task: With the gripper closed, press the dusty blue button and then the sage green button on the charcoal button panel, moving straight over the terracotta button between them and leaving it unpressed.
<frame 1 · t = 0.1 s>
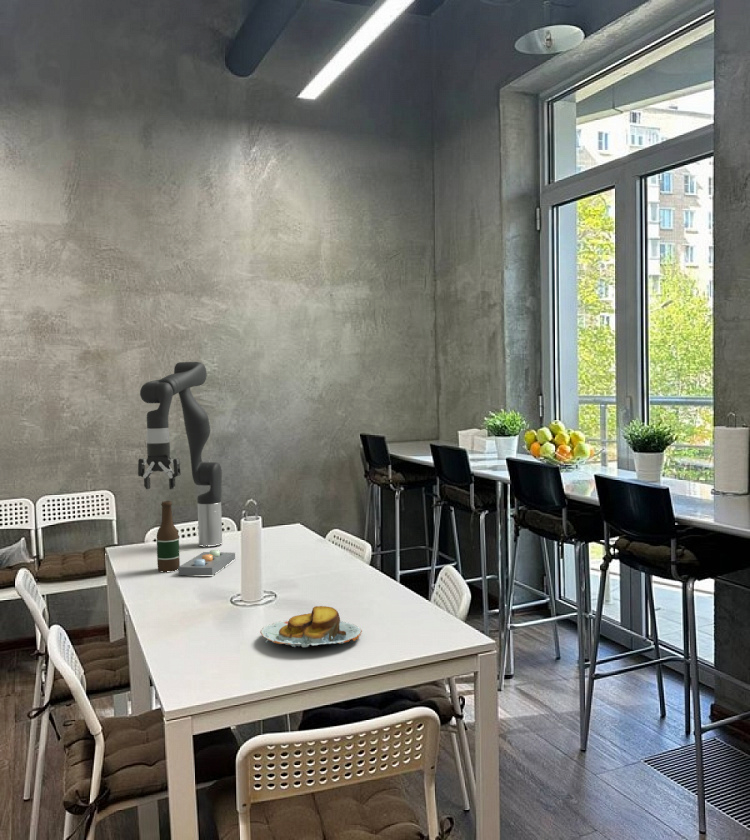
hand: (159, 489, 260), 29 cm above the table, tool pointing down, fingers open, 8 cm apart
sage button: (214, 555, 275), point 3 cm above the table, slide at 0.0 cm
blue button: (199, 564, 262), point 3 cm above the table, slide at 0.0 cm
food on plate: (311, 640, 194), on the table
button panel: (207, 568, 269), on the table
beer bottle: (168, 570, 267), on the table
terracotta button: (207, 559, 269), point 3 cm above the table, slide at 0.0 cm
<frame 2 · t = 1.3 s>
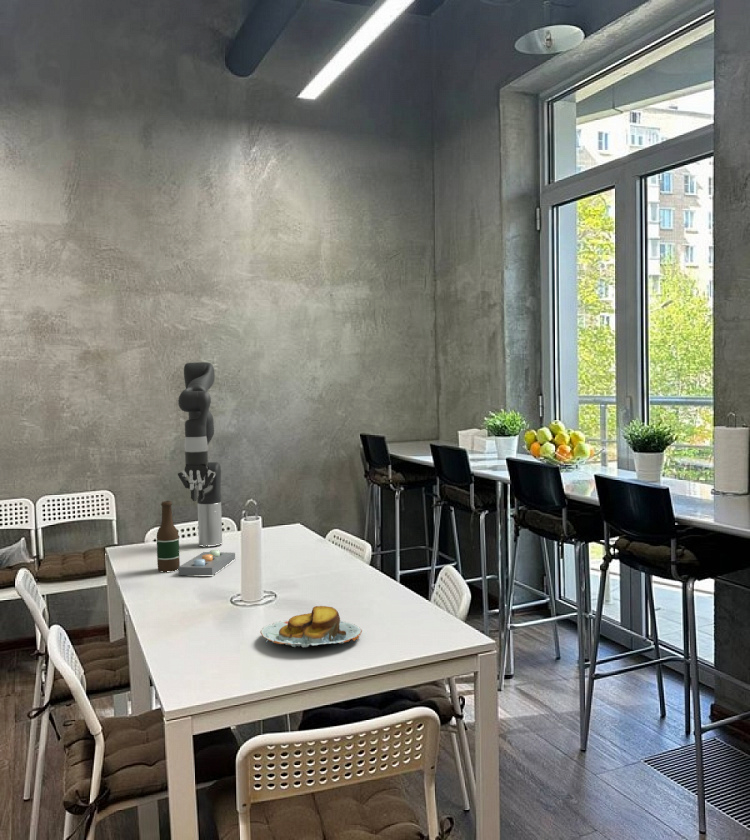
hand: (197, 500, 260), 25 cm above the table, tool pointing down, fingers closed
nothing on the table moved.
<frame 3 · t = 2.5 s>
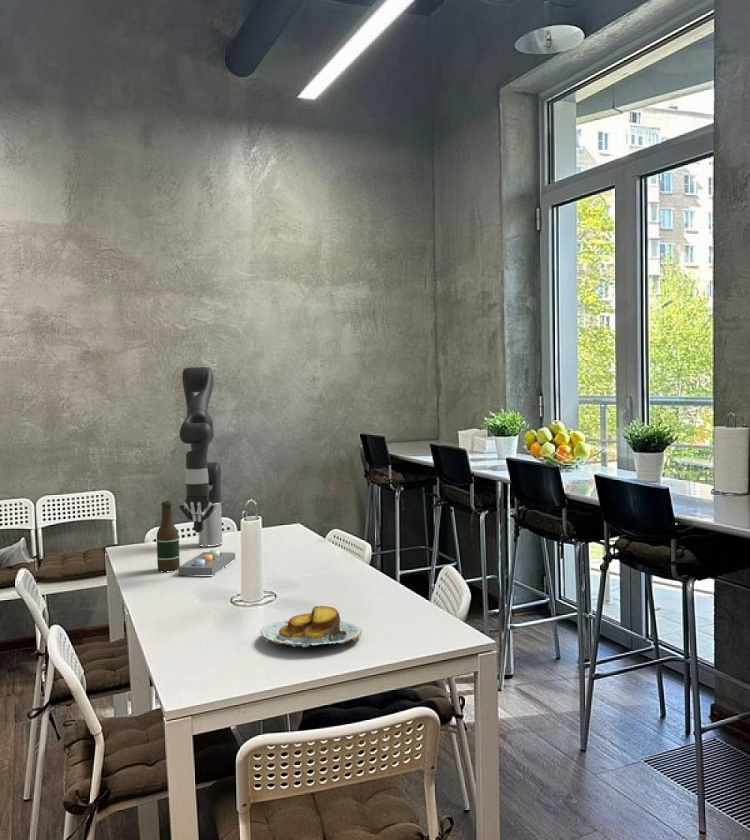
hand: (198, 532, 261), 14 cm above the table, tool pointing down, fingers closed
nothing on the table moved.
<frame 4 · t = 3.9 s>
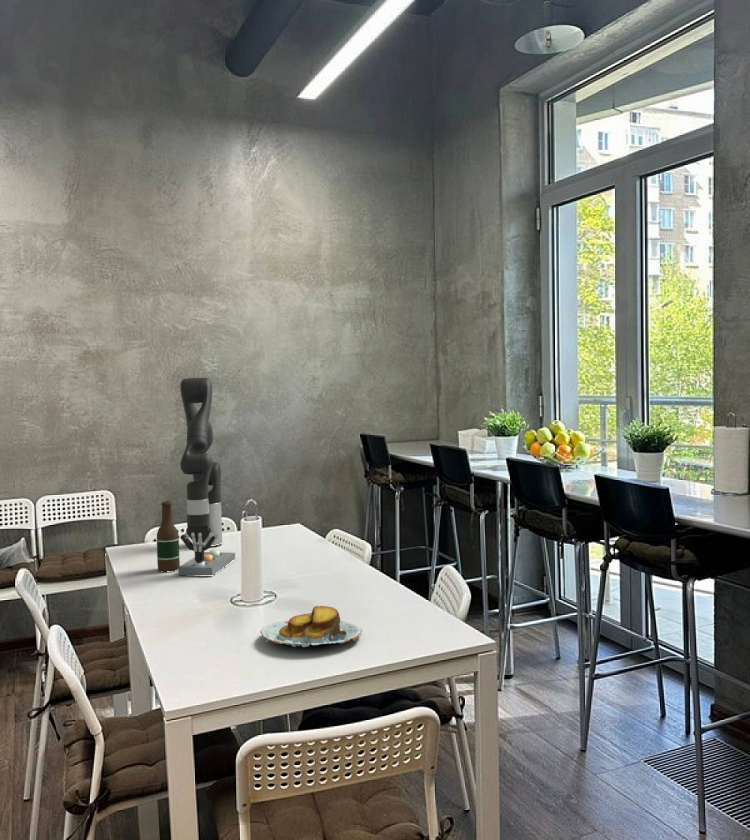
hand: (199, 562, 261), 4 cm above the table, tool pointing down, fingers closed
blue button: (199, 566, 262), point 2 cm above the table, slide at 0.7 cm, touching gripper
everything else where it was.
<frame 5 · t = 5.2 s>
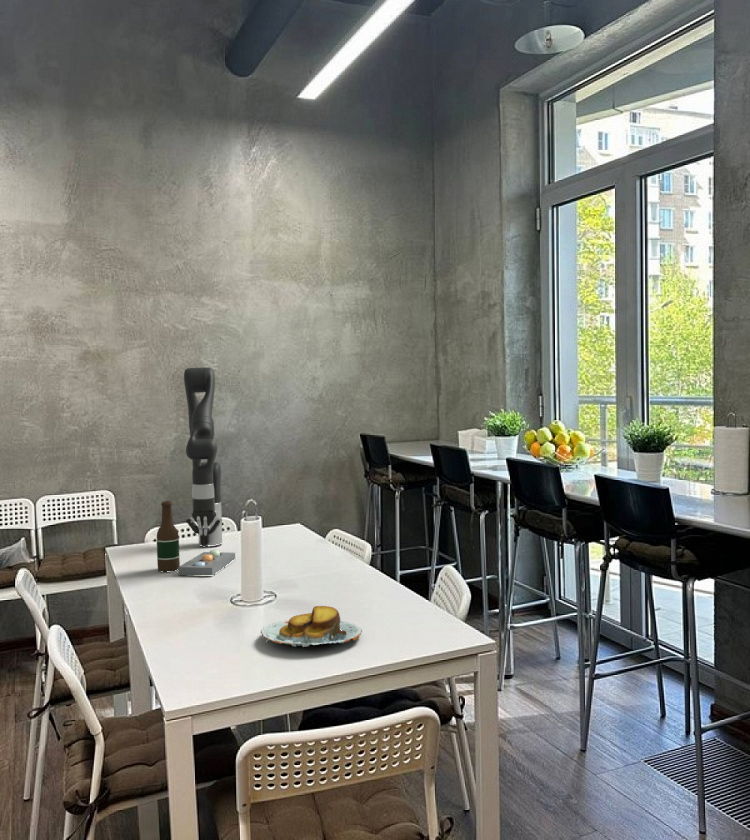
hand: (204, 545, 267), 8 cm above the table, tool pointing down, fingers closed
blue button: (199, 567, 262), point 2 cm above the table, slide at 0.9 cm
everything else where it was.
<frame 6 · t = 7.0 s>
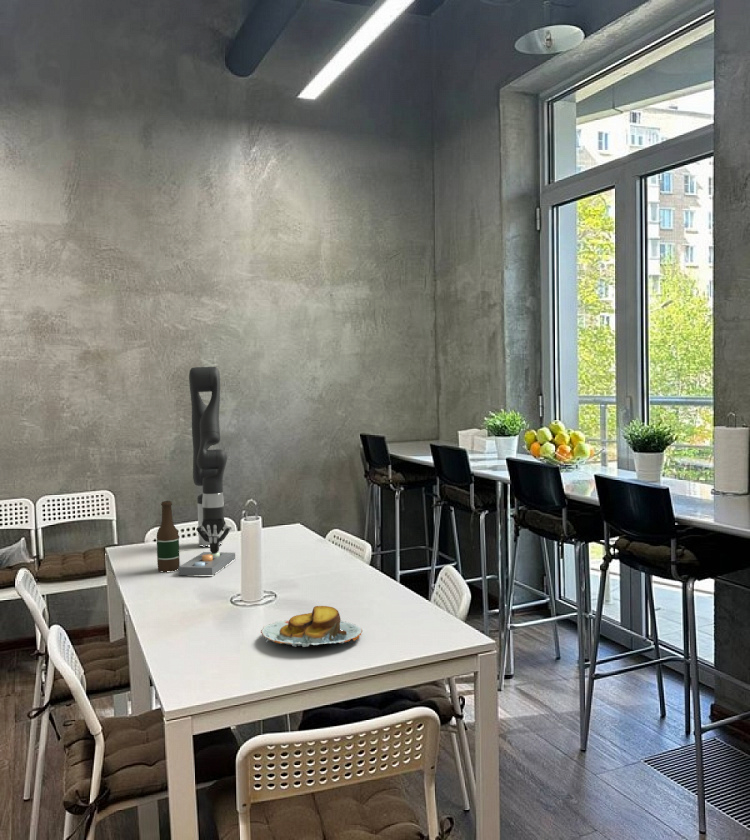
hand: (214, 553, 275), 4 cm above the table, tool pointing down, fingers closed
sage button: (214, 557, 275), point 2 cm above the table, slide at 0.7 cm, touching gripper
everything else where it was.
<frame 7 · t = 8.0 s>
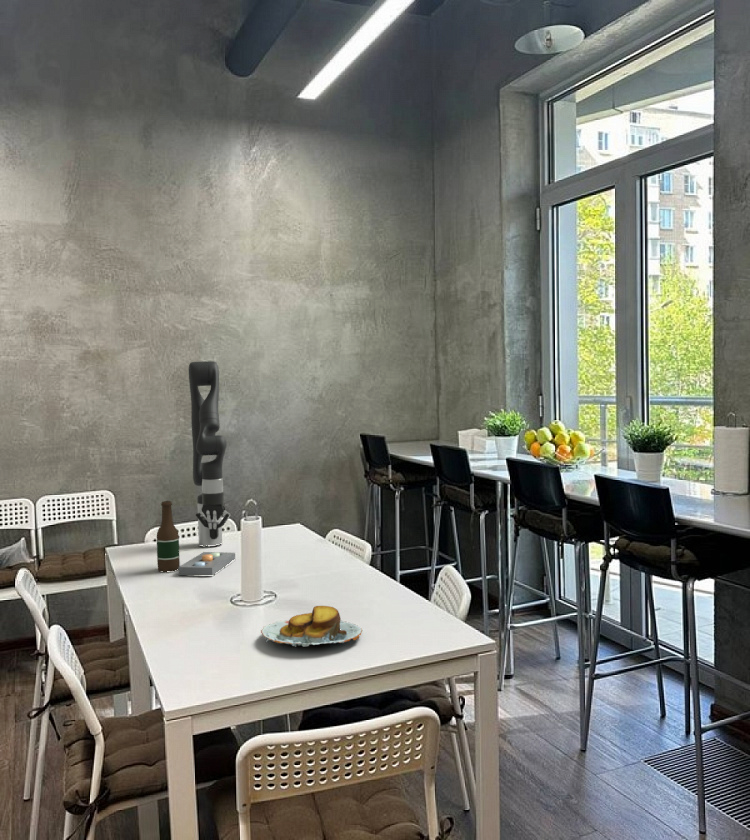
hand: (214, 538, 275), 9 cm above the table, tool pointing down, fingers closed
sage button: (214, 557, 275), point 2 cm above the table, slide at 0.9 cm
everything else where it was.
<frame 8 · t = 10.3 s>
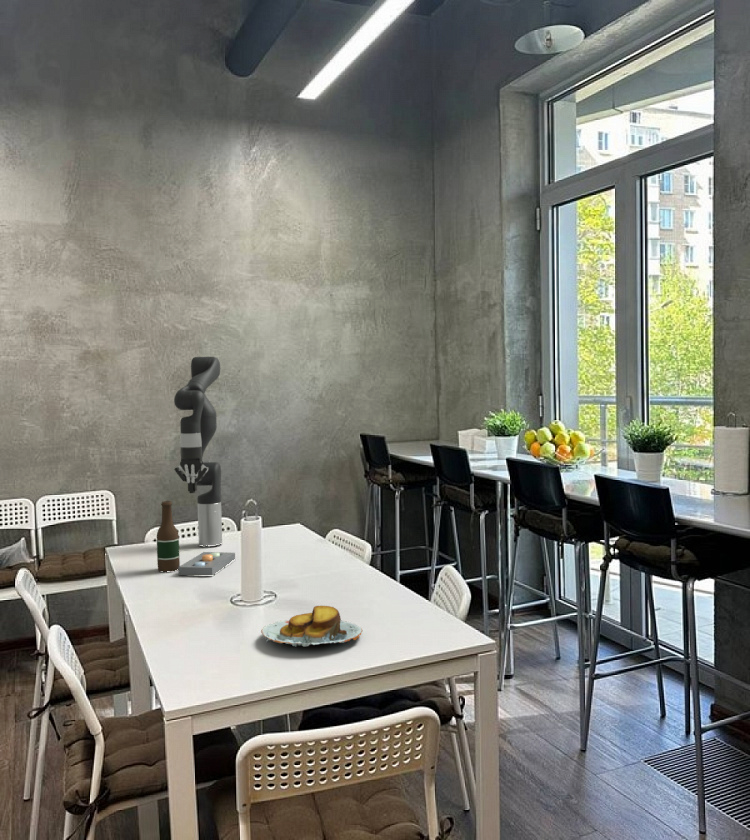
hand: (192, 492, 279), 25 cm above the table, tool pointing down, fingers closed
nothing on the table moved.
at the end: blue button slide at 0.9 cm; sage button slide at 0.9 cm; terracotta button slide at 0.0 cm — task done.
